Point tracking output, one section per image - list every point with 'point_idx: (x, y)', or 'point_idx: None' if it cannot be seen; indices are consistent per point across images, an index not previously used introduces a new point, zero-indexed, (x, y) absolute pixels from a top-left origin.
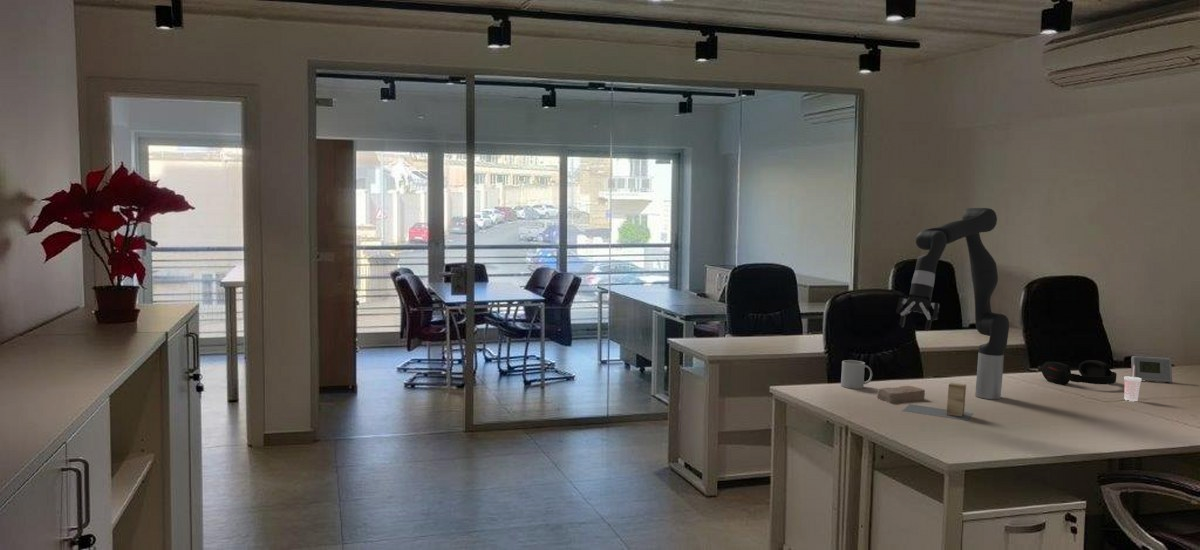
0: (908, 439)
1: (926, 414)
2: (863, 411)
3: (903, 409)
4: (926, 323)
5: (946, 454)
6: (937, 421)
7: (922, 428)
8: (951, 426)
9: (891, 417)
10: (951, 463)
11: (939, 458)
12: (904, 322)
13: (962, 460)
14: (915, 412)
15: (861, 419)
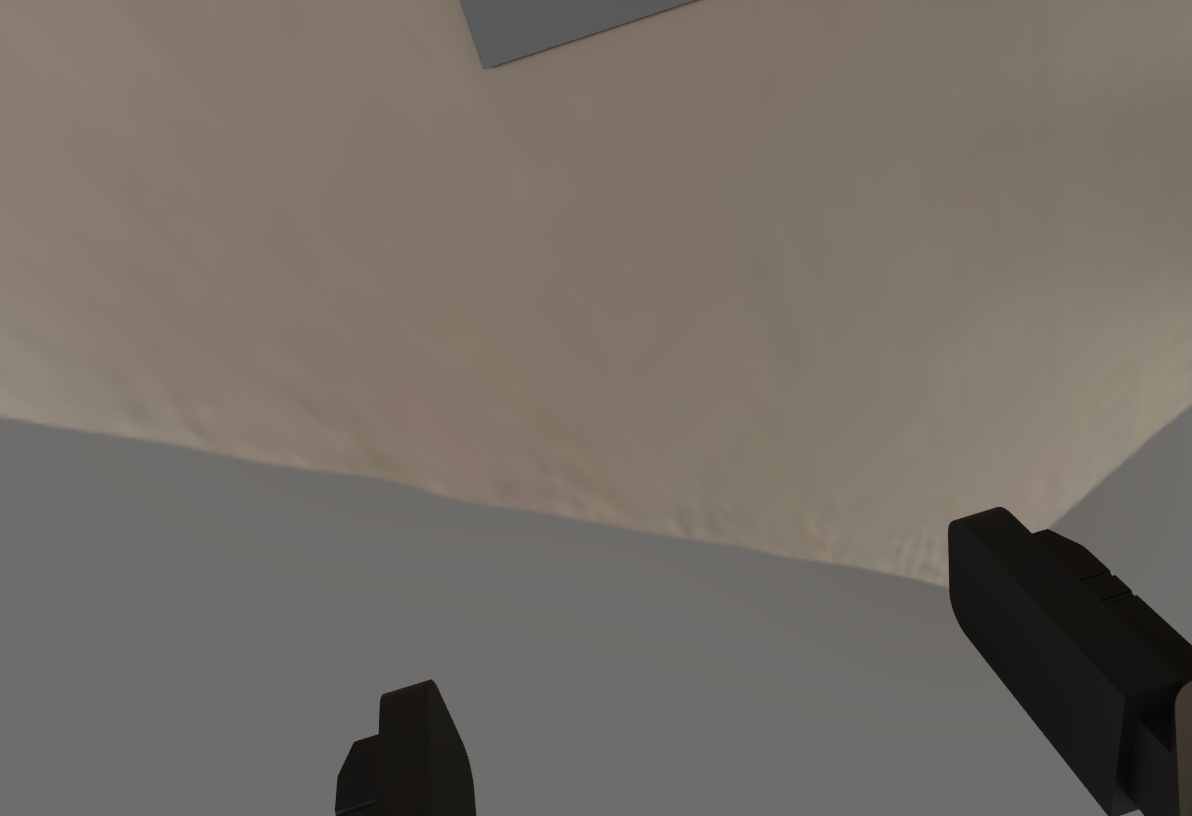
0: (792, 512)
1: (678, 2)
2: (316, 298)
3: (463, 9)
4: (1061, 731)
5: None
6: (801, 99)
7: (780, 328)
8: (911, 142)
9: (532, 273)
10: None
11: None
12: (440, 787)
13: None
14: (584, 18)
15: (454, 444)
